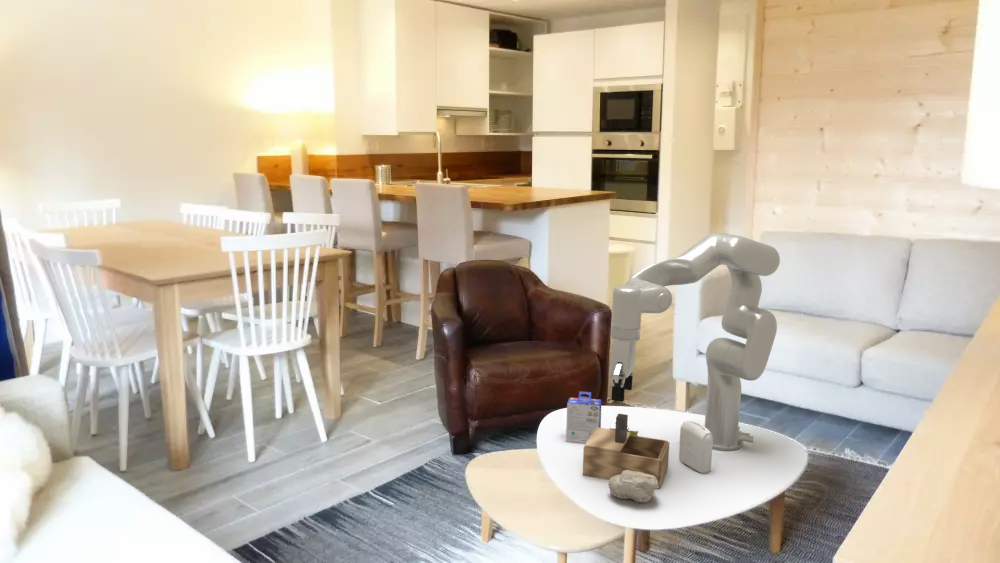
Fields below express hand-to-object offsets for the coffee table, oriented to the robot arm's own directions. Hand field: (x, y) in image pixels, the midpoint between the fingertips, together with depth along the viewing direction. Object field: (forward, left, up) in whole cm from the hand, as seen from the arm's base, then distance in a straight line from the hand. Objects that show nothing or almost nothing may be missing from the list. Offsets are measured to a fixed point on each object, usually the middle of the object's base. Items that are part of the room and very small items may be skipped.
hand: (621, 394), depth 199 cm
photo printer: (-19, -11, -22) cm, 31 cm away
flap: (+3, 0, -14) cm, 14 cm away
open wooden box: (-2, 0, -22) cm, 22 cm away
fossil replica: (-7, +14, -22) cm, 27 cm away
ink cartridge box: (+14, -16, -22) cm, 31 cm away
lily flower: (+4, -23, -23) cm, 33 cm away
